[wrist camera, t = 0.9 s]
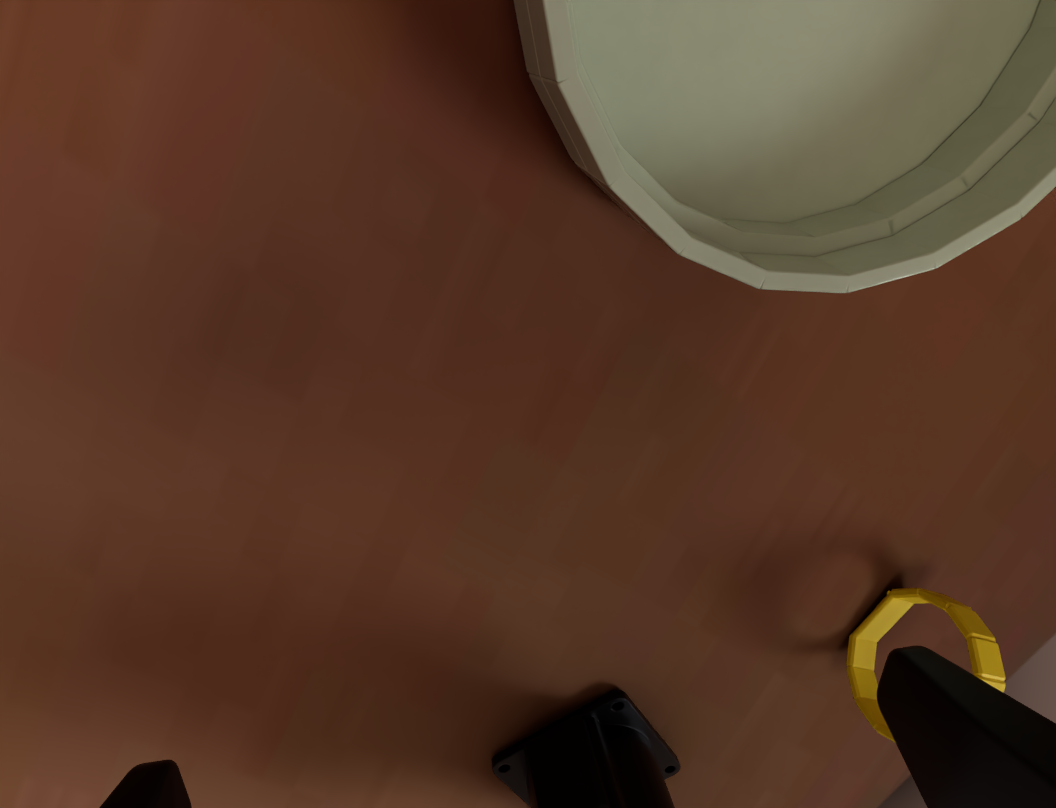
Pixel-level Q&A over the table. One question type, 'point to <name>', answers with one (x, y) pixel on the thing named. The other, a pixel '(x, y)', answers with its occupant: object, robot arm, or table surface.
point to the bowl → (805, 126)
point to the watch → (885, 616)
